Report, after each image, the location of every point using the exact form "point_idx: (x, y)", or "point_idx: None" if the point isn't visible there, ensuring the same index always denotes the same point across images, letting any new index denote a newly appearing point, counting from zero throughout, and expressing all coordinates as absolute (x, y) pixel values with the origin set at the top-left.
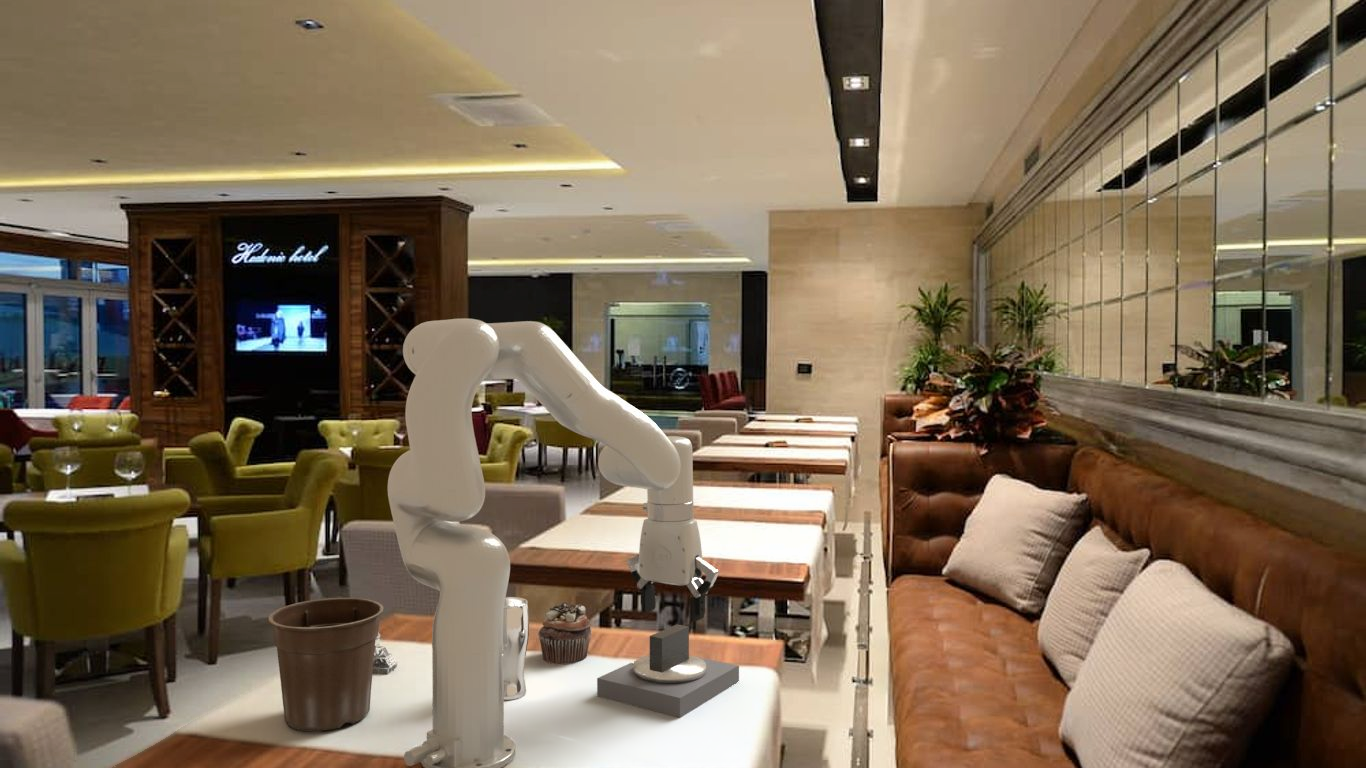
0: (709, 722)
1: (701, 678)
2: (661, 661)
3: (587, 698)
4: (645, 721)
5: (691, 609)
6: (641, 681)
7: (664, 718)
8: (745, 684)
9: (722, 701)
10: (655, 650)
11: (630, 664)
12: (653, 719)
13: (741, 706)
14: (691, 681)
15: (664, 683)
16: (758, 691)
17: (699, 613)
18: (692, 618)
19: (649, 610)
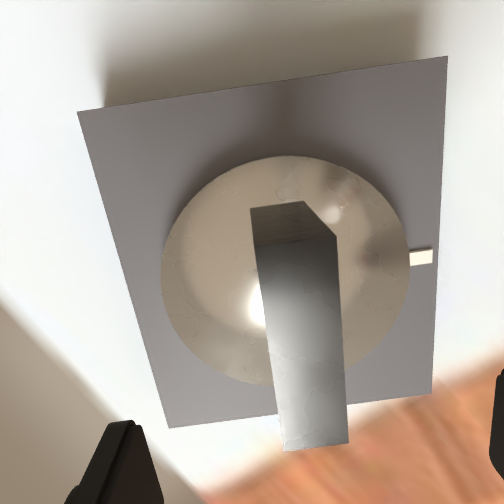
0: (22, 147)
1: None
2: (253, 218)
3: (431, 34)
4: (154, 13)
5: (92, 495)
6: (293, 145)
7: (132, 78)
8: None
9: (117, 284)
10: (288, 223)
11: (429, 244)
12: (149, 46)
13: (58, 289)
14: None
15: None
16: (107, 383)
17: (69, 494)
18: (113, 435)
19: (496, 412)
